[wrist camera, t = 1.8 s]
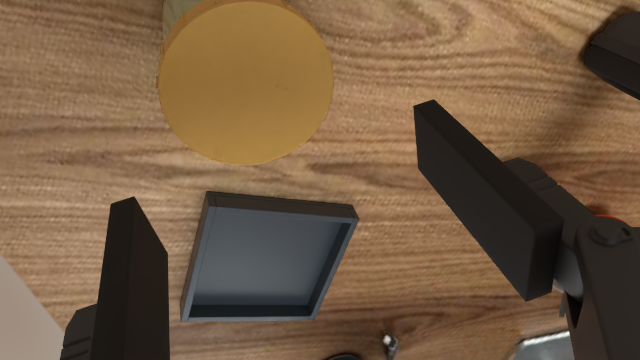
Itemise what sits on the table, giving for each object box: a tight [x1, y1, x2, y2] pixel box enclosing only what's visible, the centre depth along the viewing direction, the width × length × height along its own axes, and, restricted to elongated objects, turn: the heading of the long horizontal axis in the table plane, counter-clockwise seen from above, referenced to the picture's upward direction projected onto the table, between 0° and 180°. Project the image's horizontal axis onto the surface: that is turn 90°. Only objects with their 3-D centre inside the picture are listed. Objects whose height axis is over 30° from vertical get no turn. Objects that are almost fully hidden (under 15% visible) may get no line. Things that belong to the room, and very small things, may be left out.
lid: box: [156, 0, 334, 165], centre depth 22 cm, size 8×8×2 cm
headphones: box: [553, 11, 640, 293], centre depth 36 cm, size 22×6×20 cm, turn 150°
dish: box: [180, 191, 359, 322], centre depth 42 cm, size 13×13×2 cm
